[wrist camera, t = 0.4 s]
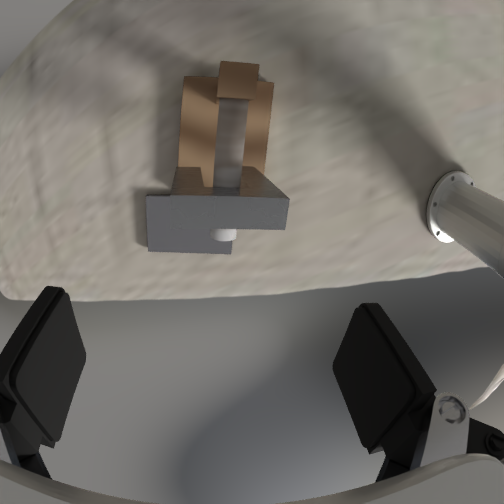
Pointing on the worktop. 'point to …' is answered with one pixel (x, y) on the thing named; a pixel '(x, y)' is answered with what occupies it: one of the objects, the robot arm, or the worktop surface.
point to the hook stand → (225, 127)
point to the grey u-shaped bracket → (226, 202)
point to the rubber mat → (177, 232)
